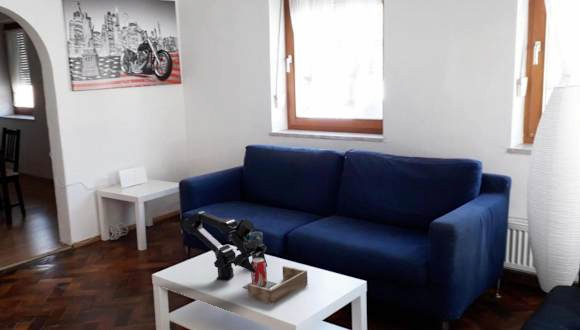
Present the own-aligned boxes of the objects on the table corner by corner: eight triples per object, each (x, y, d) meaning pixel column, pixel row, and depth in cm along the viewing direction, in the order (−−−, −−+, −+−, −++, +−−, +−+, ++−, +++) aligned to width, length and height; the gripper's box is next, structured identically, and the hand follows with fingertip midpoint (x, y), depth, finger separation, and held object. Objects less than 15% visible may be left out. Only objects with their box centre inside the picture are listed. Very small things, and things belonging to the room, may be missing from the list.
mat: (242, 287, 249) (242, 286, 249) (257, 279, 257) (257, 278, 257) (261, 292, 242) (261, 291, 242) (276, 283, 251) (276, 283, 251)
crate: (248, 297, 237) (247, 284, 236) (284, 277, 258) (284, 265, 257) (272, 304, 229) (271, 290, 228) (307, 283, 250) (307, 270, 249)
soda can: (265, 288, 246) (263, 262, 244) (249, 287, 247) (248, 262, 245) (268, 281, 252) (267, 257, 250) (254, 281, 254) (252, 256, 252)
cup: (250, 259, 285) (249, 232, 282) (263, 258, 285) (262, 231, 283) (251, 264, 278) (249, 236, 276) (264, 263, 279) (262, 235, 276)
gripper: (236, 238, 240) (256, 266, 236) (262, 227, 255) (282, 253, 251) (224, 252, 246) (244, 280, 242) (250, 240, 261) (270, 266, 257)
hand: (260, 269), depth 248 cm, fingers open, 8 cm apart
